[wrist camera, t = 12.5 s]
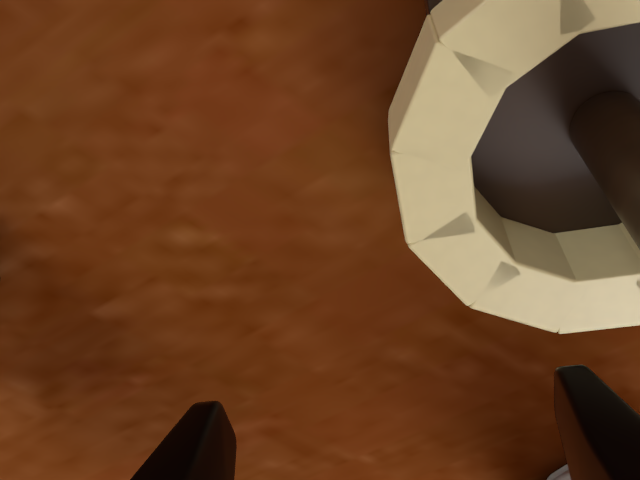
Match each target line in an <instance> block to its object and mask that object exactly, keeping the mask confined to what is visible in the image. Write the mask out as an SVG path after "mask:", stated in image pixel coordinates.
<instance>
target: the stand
mask: <svg viewBox="0 0 640 480" xmlns="http://www.w3.org/2000/svg"><path fill="white" fill-rule="evenodd" d="M441 1H442V0H425V9H426V16H427V15H431V14H430V12H431V10H432V9H433V8H434V7H435V6H437V5H438V4H439V3H440V2H441ZM471 160H472V170H473V181H474V187H475V188H476V189H477V190H478V191H479V192H480V194H481V195H482V196H483V197H484V198H485V199H486V200H487V202H488V203H489V204H490V205H491V206H492V207H493V208H494V210H495V211H496V212H497V213H498V214H499V215H500V217H503V218H506V219H509V220H512V221H516V222H519V223H522V224H525V225H528V226H531V227H535V228H538V229H541V230H544V231H547V232H551V233H560V232H567V231H574V230H582V229H589V228H596V227H603V226H610V225H617V224H620V223H623V224H624V226H625V228H626V229H627V231H628V232H629V234H630V235H631V237H632V239H633V240H634V242H635V243H636V245H637V246H638V248H639V250H640V22H639V23H634V24H629V25H623V26H618V27H613V28H608V29H603V30H598V31H592V32H587V33H582V34H579V35H577V36H576V37H575V38H573V39H572V40H571V41H569V42H568V43H566V44H565V45H564V46H562V47H561V48H560V49H558V50H557V51H556V52H554V53H553V54H552V55H550V56H549V57H547V58H546V59H545V60H543V61H542V62H541V63H539V64H538V65H537V66H535V67H534V68H533V69H531V70H530V71H529V72H527V73H526V74H524V75H523V76H522V77H520V78H519V79H518V80H516V81H515V82H514V83H512V84H511V85H510V86H508V87H507V88H506V89H505V91H504V93H503V95H502V97H501V99H500V101H499V103H498V105H497V107H496V109H495V111H494V113H493V115H492V117H491V119H490V121H489V122H488V124H487V126H486V128H485V130H484V132H483V134H482V136H481V138H480V140H479V142H478V144H477V146H476V148H475V150H474V152H473V154H472V156H471Z"/></svg>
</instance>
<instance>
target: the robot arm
mask: <svg viewBox="0 0 640 480" xmlns="http://www.w3.org/2000/svg"><path fill="white" fill-rule="evenodd" d="M554 408H555V415H556V420H557V424H558V428H559V432H560V436H561V440H562V444H563V449H564V453H565V457H566V461H567V465H568V469H569V473H570V477H571V480H640V415H638V414H637V413H636V412H635V411H634V410H633V409H632V408H631V407H630V406H629V405H628V404H627V403H626V402H624V401H623V400H622V399H621V398H620V397H619V396H618V395H617V394H616V393H615V392H614V391H613V390H612V389H610V388H609V387H608V386H607V385H606V384H605V383H604V382H603V381H602V380H601V379H600V378H599V377H598V376H596V375H595V374H594V373H593V372H592V371H591V370H590V369H589V368H588V367H586V366H584V365H572V366H562V367H558V368H556V370H555V372H554ZM235 461H236V437H235V433H234V431H233V428H232V426H231V424H230V421H229V419H228V417H227V415H226V412H225V410H224V408H223V406H222V404H221V403H220V402H218V401H208V402H199V403H195V404H194V405H192V406H191V407H190V408H189V410H188V411H187V412H186V413H185V414H184V416H183V417H182V418H181V419H180V420H179V422H178V423H177V424H176V425H175V426H174V428H173V429H172V430H171V431H170V432H169V434H168V435H167V436H166V437H165V438H164V440H163V441H162V442H161V443H160V444H159V446H158V447H157V448H156V449H155V450H154V452H153V453H152V454H151V455H150V456H149V458H148V459H147V460H146V461H145V462H144V464H143V465H142V466H141V467H140V468H139V470H138V471H137V472H136V473H135V474H134V476H133V477H132V478H131V479H130V480H234V475H235Z"/></svg>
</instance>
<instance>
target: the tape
mask: <svg viewBox="0 0 640 480" xmlns="http://www.w3.org/2000/svg"><path fill="white" fill-rule="evenodd" d="M430 14H431V15H427V16H426V19H425V21H424V24H423V26H422V29H421V31H420V34H419V36H418V39H417V41H416V44H415V46H414V49H413V51H412V54H411V56H410V59H409V61H408V64H407V66H406V69H405V71H404V74H403V76H402V78H401V81H400V83H399V86H398V88H397V91H396V93H395V96H394V98H393V101H392V103H391V106H390V108H389V111H388V115H389V116H388V130H389V147H390V158H391V163H392V169H393V175H394V180H395V186H396V192H397V198H398V203H399V209H400V215H401V220H402V226H403V232H404V237H405V241H406V243H408V247H409V248H410V249H411V250H412V251H413V252H414V253H415V254H416V255H417V256H418V257H419V258H420V259H421V260H422V261H423V262H424V263H425V264H426V265H427V266H428V267H429V268H430V269H431V270H432V271H433V272H434V273H435V274H436V275H437V276H438V278H439V279H440V280H441V281H442V282H443V283H444V284H445V285H446V286H447V287H448V288H449V289H450V290H451V291H452V292H453V293H454V294H455V295H456V296H457V297H458V298H459V299H460V300H461V301H462V302H463V303H464V304H465V305H466V306H469V307H470V308H472V309H475V310H478V311H482V312H485V313H489V314H492V315H495V316H499V317H502V318H506V319H509V320H513V321H516V322H519V323H523V324H526V325H530V326H533V327H536V328H540V329H543V330H547V331H550V332H554V333H556V332H558V333H559V334H566V333H575V332H584V331H593V330H602V329H611V328H620V327H629V326H638V325H640V250H639V248H638V246H637V245H636V243H635V242H634V240H633V239H632V237H631V235H630V234H629V232H628V231H627V229H626V228H625V226H624V224H623V223H620V224H617V225H610V226H603V227H596V228H589V229H582V230H574V231H567V232H560V233H551V232H547V231H544V230H541V229H538V228H535V227H531V226H528V225H525V224H522V223H519V222H516V221H512V220H509V219H506V218H503V217H500V215H499V214H498V213H497V212H496V211H495V210H494V208H493V207H492V206H491V205H490V204H489V203H488V202H487V200H486V199H485V198H484V197H483V196H482V195H481V194H480V192H479V191H478V190H477V189H476V188H475V187H474V181H473V170H472V160H471V156H472V154H473V152H474V150H475V148H476V146H477V144H478V142H479V140H480V138H481V136H482V134H483V132H484V130H485V128H486V126H487V124H488V122H489V121H490V119H491V117H492V115H493V113H494V111H495V109H496V107H497V105H498V103H499V101H500V99H501V97H502V95H503V93H504V91H505V89H506V88H507V87H508V86H510V85H511V84H512V83H514V82H515V81H516V80H518V79H519V78H520V77H522V76H523V75H524V74H526V73H527V72H529V71H530V70H531V69H533V68H534V67H535V66H537V65H538V64H539V63H541V62H542V61H543V60H545V59H546V58H547V57H549V56H550V55H552V54H553V53H554V52H556V51H557V50H558V49H560V48H561V47H562V46H564V45H565V44H566V43H568V42H569V41H571V40H572V39H573V38H575V37H576V36H577V35H579V34H582V33H587V32H592V31H598V30H603V29H608V28H613V27H618V26H623V25H629V24H634V23H639V22H640V0H442V1H441V2H440V3H439V4H438V5H437V6H435V7H434V8H433V9H432V10H431V12H430Z"/></svg>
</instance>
